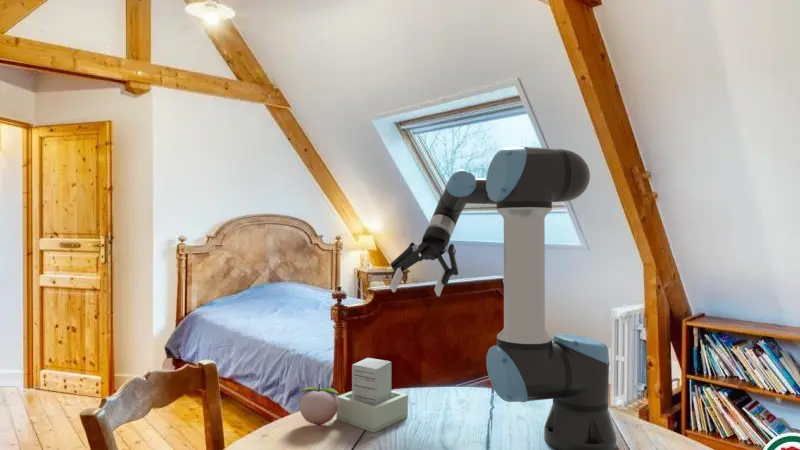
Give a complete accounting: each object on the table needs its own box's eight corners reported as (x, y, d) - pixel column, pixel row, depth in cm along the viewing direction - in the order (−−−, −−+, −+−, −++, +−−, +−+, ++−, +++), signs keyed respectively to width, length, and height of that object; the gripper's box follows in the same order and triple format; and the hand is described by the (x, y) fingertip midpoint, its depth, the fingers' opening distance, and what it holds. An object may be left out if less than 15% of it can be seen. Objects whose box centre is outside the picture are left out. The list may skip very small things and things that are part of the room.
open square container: (407, 416, 128) (407, 394, 127) (373, 432, 118) (374, 408, 118) (370, 404, 135) (371, 384, 135) (336, 418, 126) (336, 396, 126)
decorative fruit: (297, 434, 117) (297, 390, 116) (300, 420, 125) (300, 379, 125) (339, 432, 118) (339, 389, 118) (339, 418, 126) (339, 378, 126)
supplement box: (367, 405, 132) (367, 356, 132) (392, 411, 128) (392, 361, 128) (350, 415, 125) (351, 364, 125) (376, 421, 122) (377, 368, 122)
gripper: (481, 243, 147) (460, 303, 134) (405, 241, 159) (379, 295, 147) (475, 225, 143) (452, 285, 130) (397, 224, 155) (369, 279, 142)
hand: (413, 291), depth 138 cm, fingers open, 13 cm apart
